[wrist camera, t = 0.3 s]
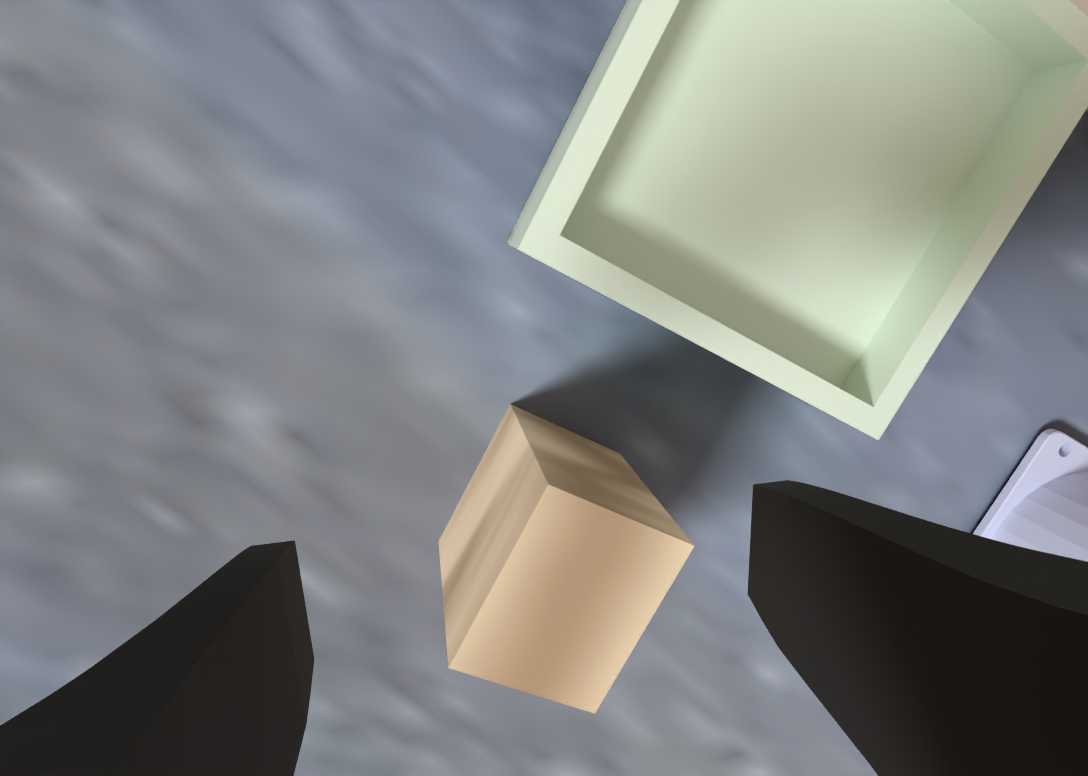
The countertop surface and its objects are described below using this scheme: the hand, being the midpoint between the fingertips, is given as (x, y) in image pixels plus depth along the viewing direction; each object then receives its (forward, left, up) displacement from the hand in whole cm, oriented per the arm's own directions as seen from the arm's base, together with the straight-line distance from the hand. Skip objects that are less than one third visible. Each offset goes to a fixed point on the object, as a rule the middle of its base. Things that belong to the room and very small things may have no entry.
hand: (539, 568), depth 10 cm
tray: (-5, -10, -10) cm, 15 cm away
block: (-3, +3, -10) cm, 11 cm away
